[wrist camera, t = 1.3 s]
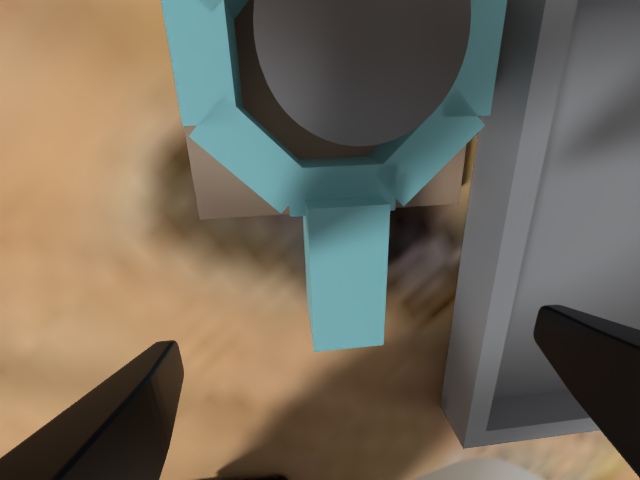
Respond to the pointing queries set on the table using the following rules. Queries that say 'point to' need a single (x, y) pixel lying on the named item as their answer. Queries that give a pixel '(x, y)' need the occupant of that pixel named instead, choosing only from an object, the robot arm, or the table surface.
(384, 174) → the ring
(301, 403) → the table surface
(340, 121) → the ring
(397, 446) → the table surface
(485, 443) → the tray
